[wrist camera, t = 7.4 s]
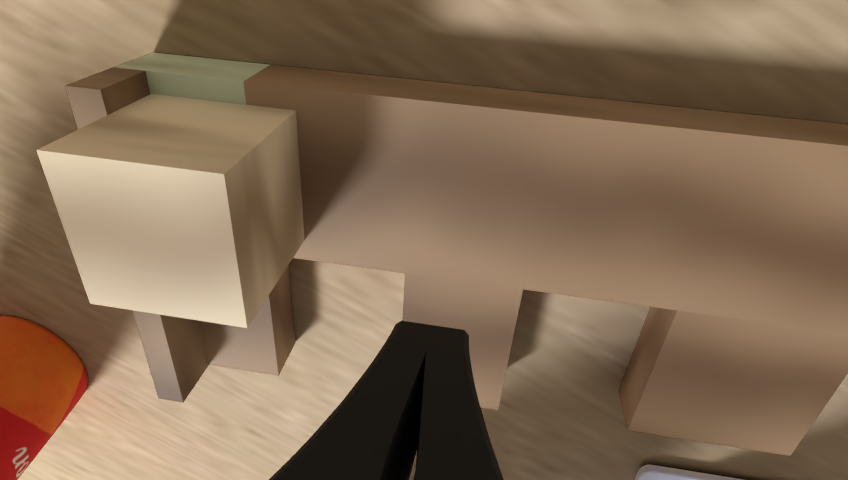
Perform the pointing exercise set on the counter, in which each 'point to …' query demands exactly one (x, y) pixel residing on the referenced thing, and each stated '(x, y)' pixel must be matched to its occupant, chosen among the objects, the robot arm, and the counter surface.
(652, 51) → the counter surface
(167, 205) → the block
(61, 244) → the counter surface
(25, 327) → the coffee cup
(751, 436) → the deck
